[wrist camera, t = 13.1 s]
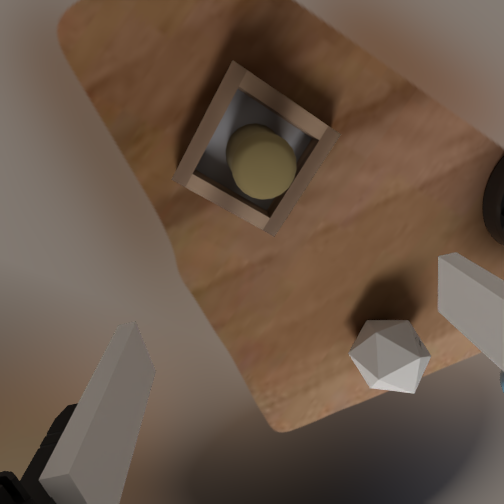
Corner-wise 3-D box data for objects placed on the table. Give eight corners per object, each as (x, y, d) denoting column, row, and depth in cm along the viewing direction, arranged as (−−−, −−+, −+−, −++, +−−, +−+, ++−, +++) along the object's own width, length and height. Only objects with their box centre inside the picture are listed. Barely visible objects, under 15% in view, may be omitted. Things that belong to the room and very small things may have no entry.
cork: (250, 110, 34) (261, 108, 24) (294, 149, 36) (322, 163, 26) (213, 158, 35) (209, 176, 25) (257, 194, 37) (270, 224, 27)
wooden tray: (330, 132, 36) (340, 134, 33) (270, 226, 39) (274, 236, 36) (231, 65, 33) (232, 60, 30) (176, 173, 36) (171, 179, 33)
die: (399, 358, 49) (461, 364, 40) (359, 399, 45) (417, 416, 36) (368, 308, 49) (423, 303, 40) (325, 345, 45) (374, 349, 36)
